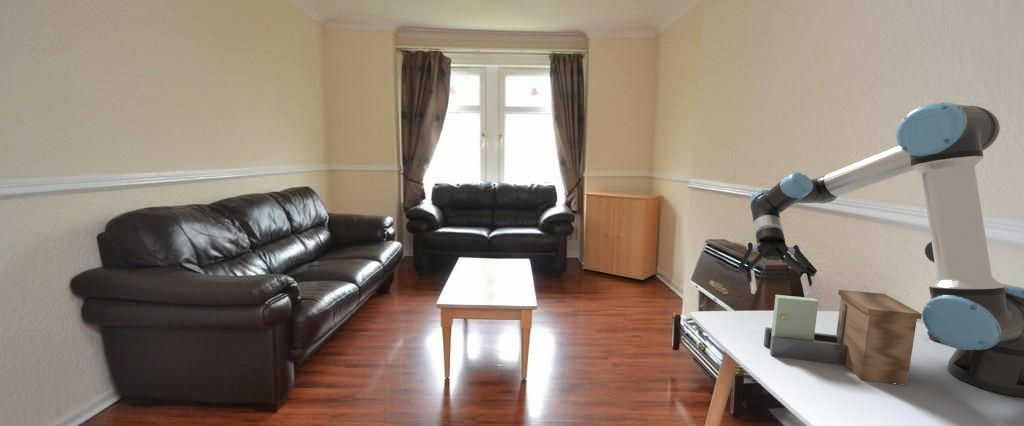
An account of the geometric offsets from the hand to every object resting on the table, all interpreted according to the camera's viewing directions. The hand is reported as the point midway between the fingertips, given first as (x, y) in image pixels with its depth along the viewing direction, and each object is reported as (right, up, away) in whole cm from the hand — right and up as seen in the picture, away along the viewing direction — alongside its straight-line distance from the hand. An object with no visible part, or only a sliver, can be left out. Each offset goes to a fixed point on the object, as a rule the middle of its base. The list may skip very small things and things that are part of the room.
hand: (780, 293), depth 124 cm
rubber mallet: (+46, -14, +2) cm, 48 cm away
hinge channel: (0, -14, -10) cm, 17 cm away
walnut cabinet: (+11, -15, -17) cm, 25 cm away
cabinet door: (-3, -14, -9) cm, 17 cm away
